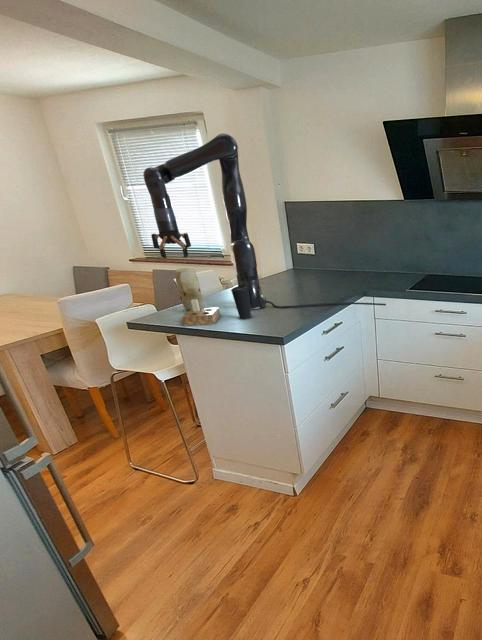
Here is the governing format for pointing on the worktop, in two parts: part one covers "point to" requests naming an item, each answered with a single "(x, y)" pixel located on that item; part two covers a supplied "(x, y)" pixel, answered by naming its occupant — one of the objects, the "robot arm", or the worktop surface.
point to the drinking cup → (242, 300)
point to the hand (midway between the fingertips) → (175, 257)
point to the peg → (195, 305)
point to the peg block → (201, 316)
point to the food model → (188, 287)
